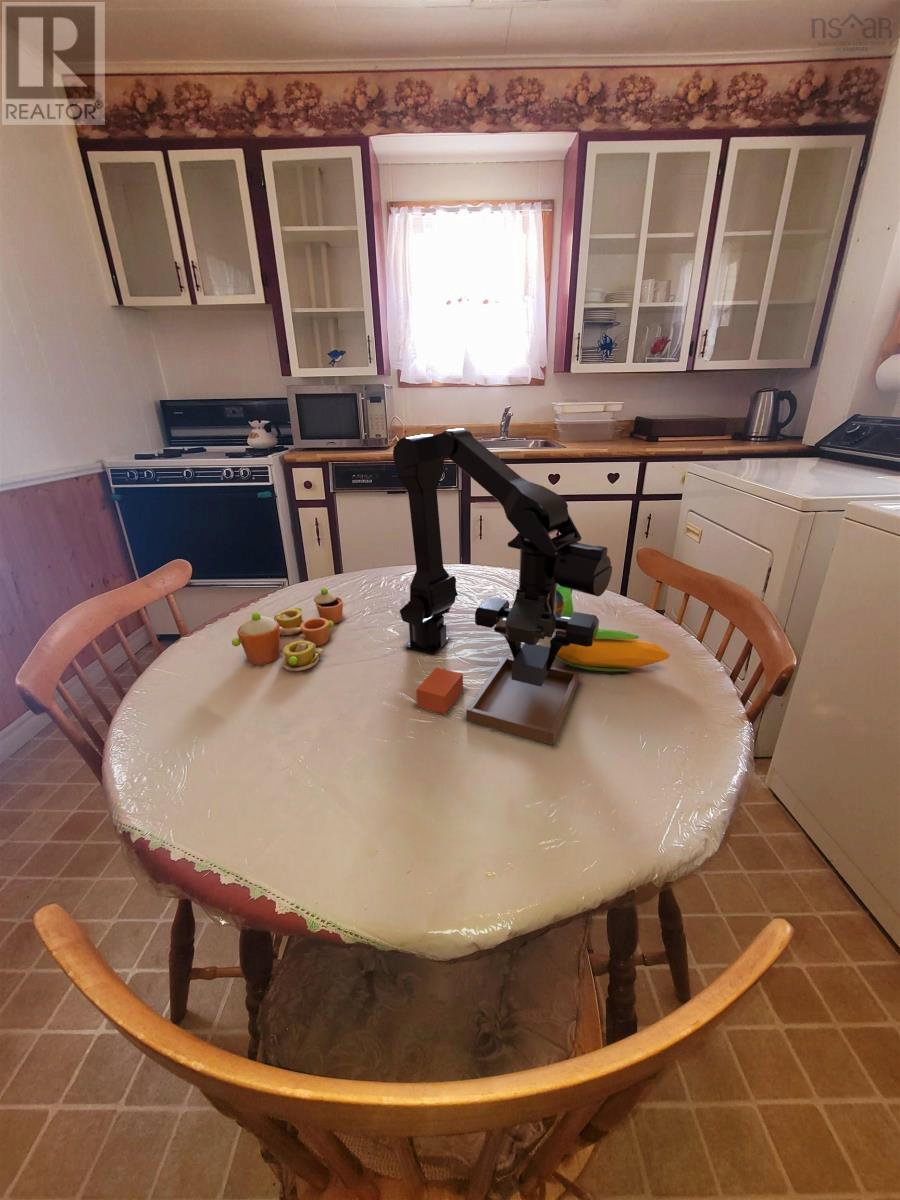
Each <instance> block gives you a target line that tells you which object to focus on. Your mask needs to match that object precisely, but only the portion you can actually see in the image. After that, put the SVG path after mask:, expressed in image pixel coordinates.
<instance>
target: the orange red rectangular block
mask: <svg viewBox="0 0 900 1200" xmlns="http://www.w3.org/2000/svg"><path fill="white" fill-rule="evenodd" d="M433 669H434V670H433V671H431V673H430V674H428V676H427V677H426V678H425V679H424V680H423V682H422V683H421V684H419V686H418V687H417V688H416V702H417V703H416V705H417V707H418V708H422V709H425V710H429V711H432V712H435V713H439V714H442V715H446V714H447V713H448V711H449V710H450V709H451V707H452V706H453V705H454V703H455V702H456V701H457V699H459V697H460V695H461V694H462V693H463V692H464V674H463V673H461V672H457V671H452V670H449V669H445V668H440V667H437V666H436V667H435V668H433Z"/></svg>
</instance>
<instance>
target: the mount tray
mask: <svg viewBox="0 0 900 1200" xmlns="http://www.w3.org/2000/svg"><path fill="white" fill-rule="evenodd" d="M513 660H514V658H513V657H509V656H503V657H502V659H501V660H500V662H499V663H498V665H497V666H496V668H495V669H494V670H493V671H492V673H491V674H490V676H489V677H488V679H487V680H486V681H485V683H484V684H483V686H482V687H481V689H480V690H479V691H478V693H477V694H476V696H475V697H474V699H472V701H471V703H470V704H469V705H468V707H467V708H466V722H469V723H474V724H477V725H481V726H484V727H487V728H491V729H495V730H497V731H502V732H505V733H508V734H511V735H516V736H517V737H518V736H519V737H522V738H525V739H529V740H533V741H535V742H536V741H537V742H540V743H544V744H546V745H550V746H554V744H555V742H556V739H557V737H558V735H559V731H560V730H561V728H562V725H563V722H564V720H565V717H566V714H567V712H568V710H569V708H570V705H571V703H572V701H573V697H574V695H575V693H576V690H577V688H578V685H579V681H580V672H577V671H573V670H568V669H563V668H559V667H554V666H552V667H551V669H550V671H549V673H548V675H547V677H546V679H545V680H544V682H543V684H542V686H536V685H532V684H528V683H524V682H520V681H516V680H512V662H513Z"/></svg>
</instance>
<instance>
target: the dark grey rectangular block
mask: <svg viewBox="0 0 900 1200" xmlns="http://www.w3.org/2000/svg"><path fill="white" fill-rule="evenodd" d="M549 650H550V646H545V645H541V644H538V643H537V644H535V645H528V644H526V643H523V645H522V646H521V650H520V651H519V653H518V654H517V656H516V657H515V659H514V660H513V662H512V680H516V681H520V682H524V683H528V684H532V685H536V686H542V684H543V682H544V680H545V679H546V677H547V675H548V673H549V671H550V670H549V671H547V660H548V655H549ZM553 664H554V663H553ZM553 664H552V666H551V667H553V666H554V665H553ZM550 669H551V668H550Z"/></svg>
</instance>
